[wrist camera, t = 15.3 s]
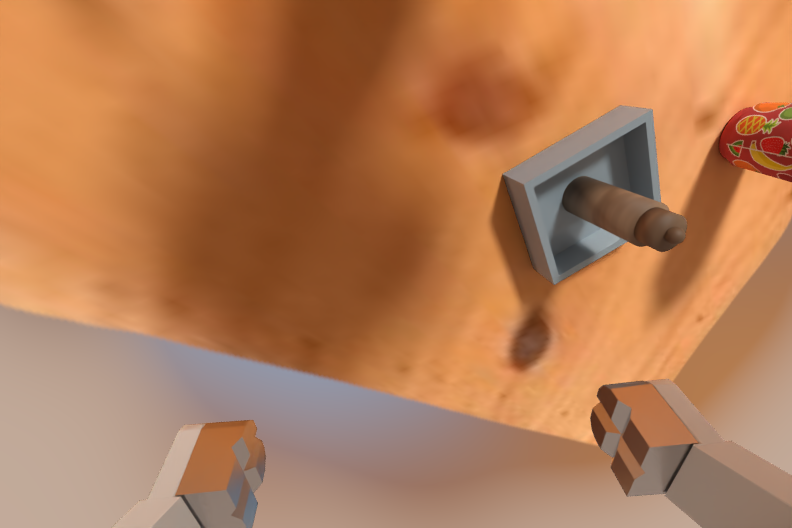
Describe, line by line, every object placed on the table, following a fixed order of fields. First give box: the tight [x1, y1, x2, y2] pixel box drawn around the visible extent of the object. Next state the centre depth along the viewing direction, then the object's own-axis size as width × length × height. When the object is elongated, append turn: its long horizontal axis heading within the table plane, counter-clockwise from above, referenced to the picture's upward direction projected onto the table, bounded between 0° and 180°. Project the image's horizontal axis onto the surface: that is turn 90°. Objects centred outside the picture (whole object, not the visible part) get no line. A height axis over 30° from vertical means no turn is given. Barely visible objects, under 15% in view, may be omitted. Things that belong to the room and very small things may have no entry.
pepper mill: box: [562, 176, 687, 252], centre depth 36 cm, size 4×4×12 cm
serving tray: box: [503, 105, 661, 285], centre depth 40 cm, size 14×13×4 cm
